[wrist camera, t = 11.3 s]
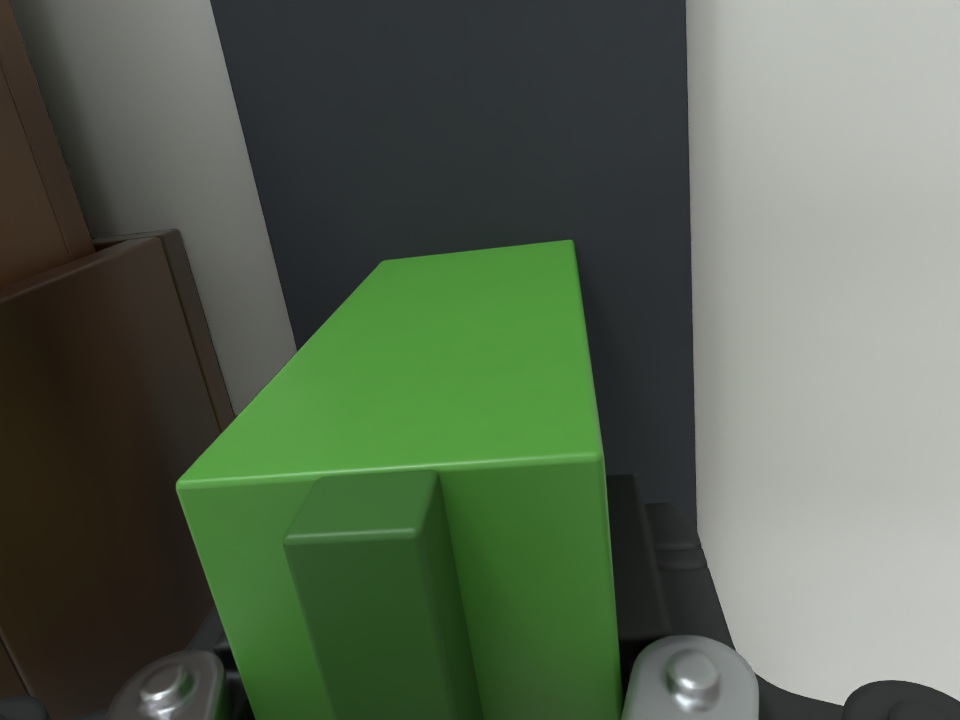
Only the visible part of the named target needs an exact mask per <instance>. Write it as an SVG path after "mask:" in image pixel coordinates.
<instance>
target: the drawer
mask: <svg viewBox="0 0 960 720" xmlns="http://www.w3.org/2000/svg"><path fill="white" fill-rule="evenodd" d="M95 252H96V251H95V249H94V246H93V243H92V240H91V237H90V234H89V231H88V228H87V225H86V222H85V220H84V217H83V214H82V211H81V208H80V205H79V202H78V199H77V196H76V194H75V191H74V188H73V185H72V182H71V179H70V176H69V173H68V170H67V167H66V165H65V162H64V159H63V156H62V153H61V150H60V147H59V144H58V141H57V138H56V136H55V133H54V130H53V127H52V124H51V121H50V118H49V115H48V112H47V109H46V107H45V104H44V101H43V98H42V95H41V92H40V89H39V86H38V83H37V81H36V78H35V75H34V72H33V69H32V66H31V63H30V60H29V57H28V54H27V52H26V49H25V46H24V43H23V40H22V37H21V34H20V31H19V28H18V25H17V23H16V20H15V17H14V14H13V11H12V8H11V5H10V2H9V0H0V289H1V288H3V287H6V286H9V285H11V284H14V283H16V282H19V281H22V280H24V279H27V278H30V277H32V276H35V275H38V274H40V273H43V272H45V271H48V270H51V269H53V268H56V267H59V266H61V265H64V264H66V263H69V262H72V261H74V260H77V259H80V258H82V257H85V256H88V255H90V254H93V253H95Z"/></svg>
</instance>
